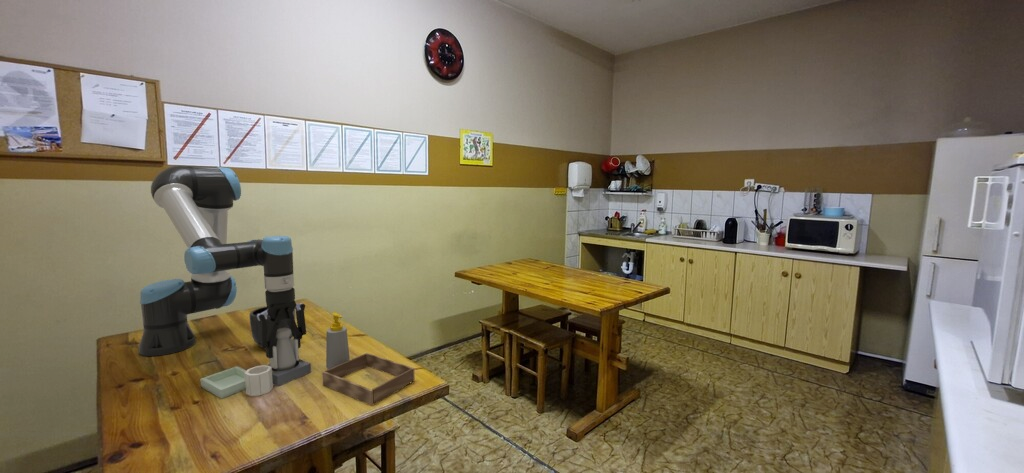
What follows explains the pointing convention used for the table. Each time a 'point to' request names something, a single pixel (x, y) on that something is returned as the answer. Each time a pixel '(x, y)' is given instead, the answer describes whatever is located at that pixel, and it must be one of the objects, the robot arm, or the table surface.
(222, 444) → the table surface
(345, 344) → the soap bottle
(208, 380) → the mint green tray
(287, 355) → the salt shaker
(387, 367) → the book tray
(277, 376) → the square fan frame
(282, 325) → the planter
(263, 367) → the octagonal gray cup
